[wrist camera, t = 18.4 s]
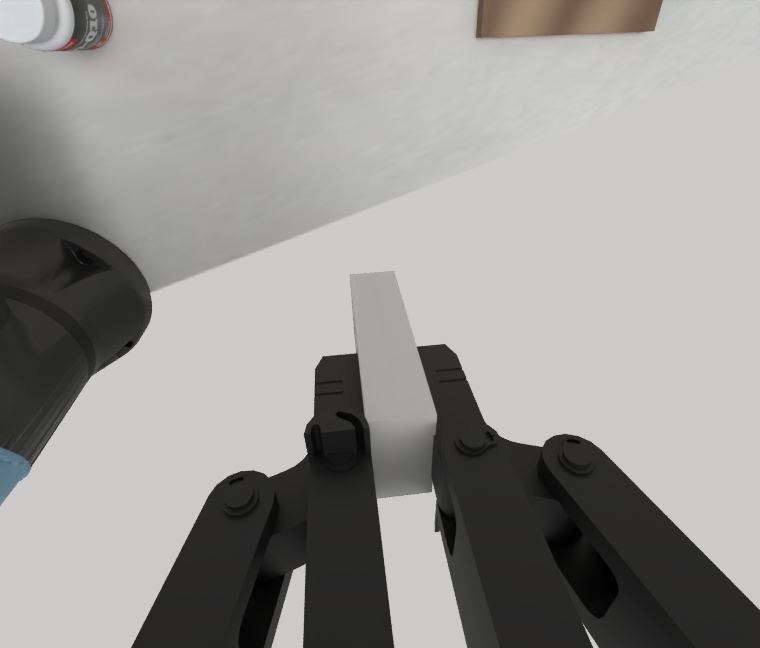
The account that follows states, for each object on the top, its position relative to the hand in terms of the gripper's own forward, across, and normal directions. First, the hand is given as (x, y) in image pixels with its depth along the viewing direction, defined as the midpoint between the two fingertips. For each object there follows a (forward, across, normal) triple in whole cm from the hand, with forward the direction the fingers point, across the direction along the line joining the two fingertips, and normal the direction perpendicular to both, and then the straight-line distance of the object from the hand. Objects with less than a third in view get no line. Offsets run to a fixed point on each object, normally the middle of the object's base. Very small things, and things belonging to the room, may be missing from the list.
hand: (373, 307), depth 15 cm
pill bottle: (+27, -18, +10) cm, 34 cm away
